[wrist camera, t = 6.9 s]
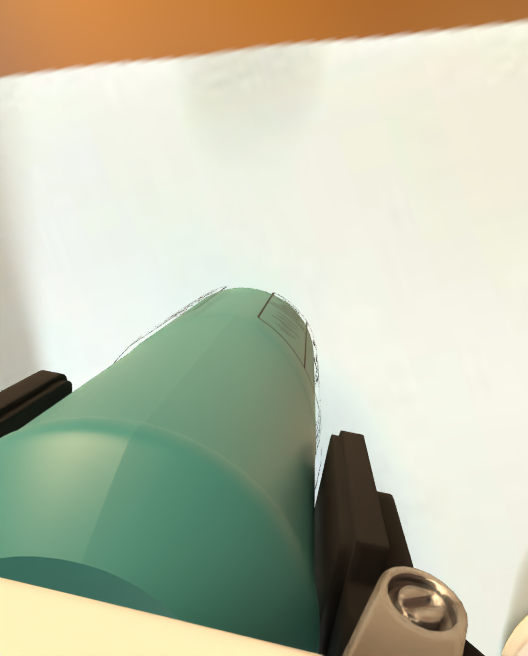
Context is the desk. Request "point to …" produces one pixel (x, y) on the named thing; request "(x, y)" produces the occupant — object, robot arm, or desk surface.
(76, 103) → the desk surface
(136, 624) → the robot arm
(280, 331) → the beverage bottle
